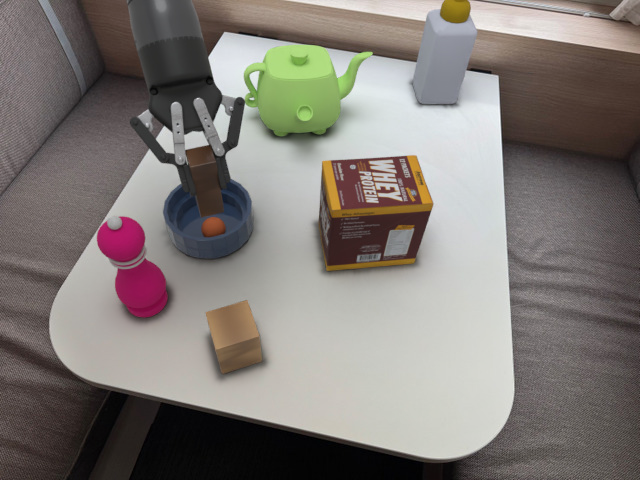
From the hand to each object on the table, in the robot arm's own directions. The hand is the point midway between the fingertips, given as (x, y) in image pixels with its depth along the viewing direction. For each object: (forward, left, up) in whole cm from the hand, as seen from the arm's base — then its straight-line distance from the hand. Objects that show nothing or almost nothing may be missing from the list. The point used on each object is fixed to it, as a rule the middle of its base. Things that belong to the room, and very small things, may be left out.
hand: (208, 191), depth 62 cm
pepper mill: (-12, +4, -25) cm, 28 cm away
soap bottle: (+57, +37, -25) cm, 73 cm away
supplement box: (+25, +3, -25) cm, 36 cm away
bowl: (+1, +16, -25) cm, 30 cm away
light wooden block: (-1, -9, -25) cm, 27 cm away
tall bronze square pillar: (0, +2, -5) cm, 5 cm away
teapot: (+26, +36, -25) cm, 51 cm away
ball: (+1, +13, -23) cm, 26 cm away
